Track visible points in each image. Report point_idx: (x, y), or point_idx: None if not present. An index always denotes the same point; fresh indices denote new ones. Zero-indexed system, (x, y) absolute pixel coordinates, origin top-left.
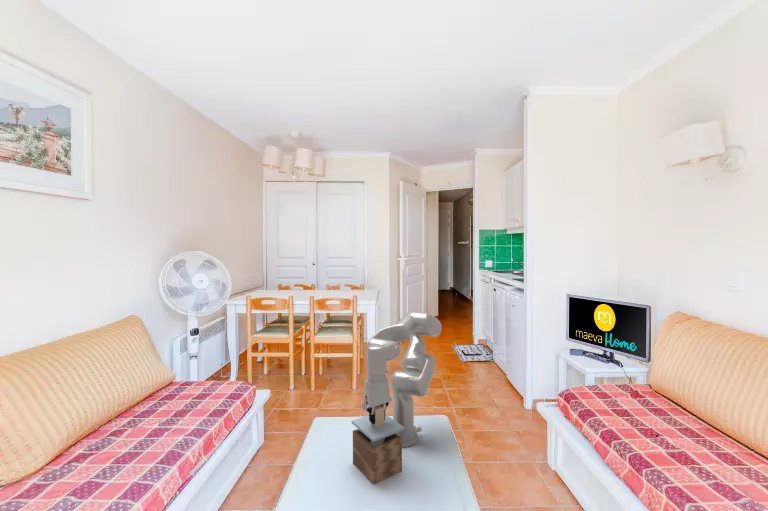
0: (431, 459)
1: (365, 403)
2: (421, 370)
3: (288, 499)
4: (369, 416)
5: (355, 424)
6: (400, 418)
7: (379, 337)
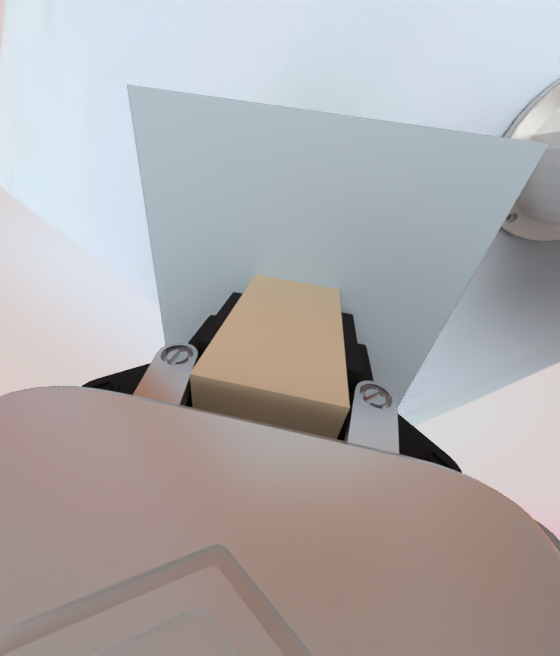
0: (465, 339)
1: None
2: None
3: None
4: (195, 338)
5: (143, 183)
6: None
7: None
